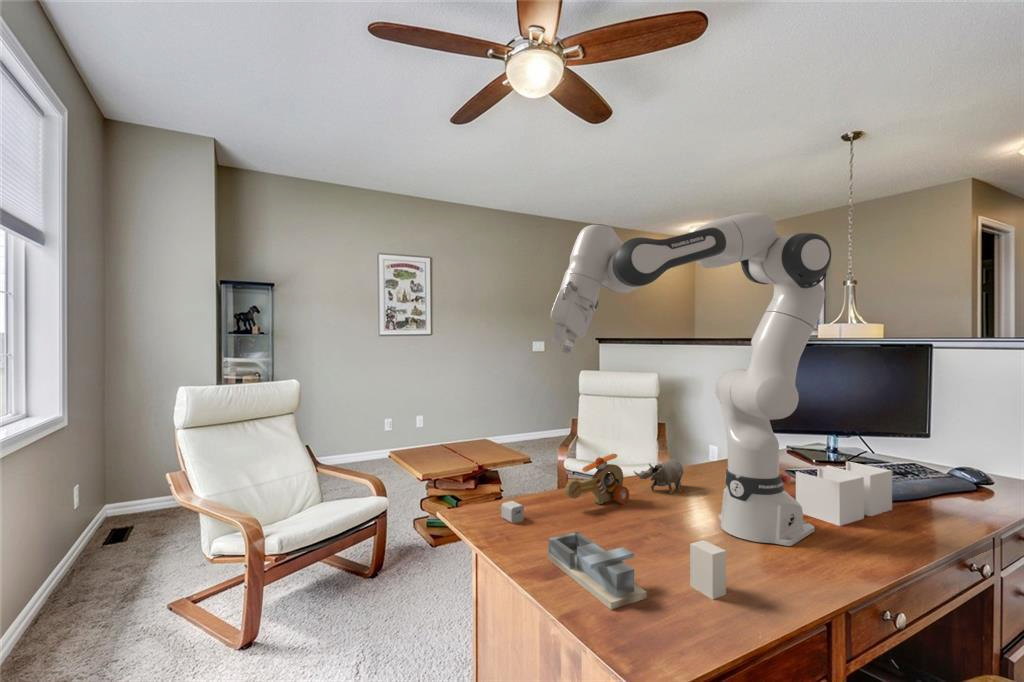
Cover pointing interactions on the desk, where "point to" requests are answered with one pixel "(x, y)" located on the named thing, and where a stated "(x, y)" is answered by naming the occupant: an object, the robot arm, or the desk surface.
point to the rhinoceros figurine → (664, 474)
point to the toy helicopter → (601, 482)
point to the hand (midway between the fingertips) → (561, 349)
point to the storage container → (845, 493)
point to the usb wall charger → (512, 511)
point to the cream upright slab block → (708, 569)
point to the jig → (596, 569)
